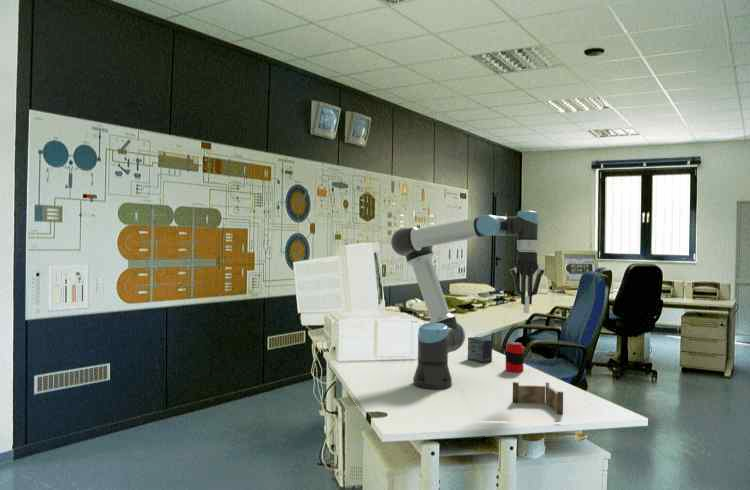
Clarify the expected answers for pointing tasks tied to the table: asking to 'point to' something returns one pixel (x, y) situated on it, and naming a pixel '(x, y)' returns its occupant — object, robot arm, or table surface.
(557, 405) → the fence gate
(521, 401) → the fence fixed
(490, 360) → the small box
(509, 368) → the soda can
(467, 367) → the table surface
